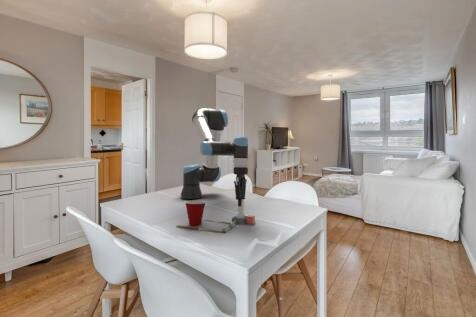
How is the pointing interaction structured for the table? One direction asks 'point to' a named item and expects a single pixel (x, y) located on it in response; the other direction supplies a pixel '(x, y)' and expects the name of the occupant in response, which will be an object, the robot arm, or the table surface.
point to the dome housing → (245, 220)
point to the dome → (240, 215)
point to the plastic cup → (195, 212)
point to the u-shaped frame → (212, 229)
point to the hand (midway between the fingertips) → (240, 211)
